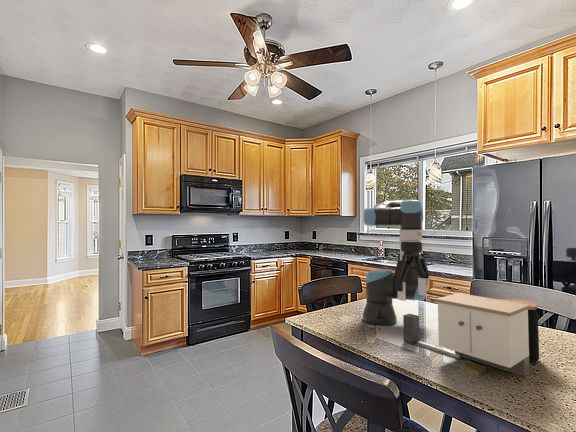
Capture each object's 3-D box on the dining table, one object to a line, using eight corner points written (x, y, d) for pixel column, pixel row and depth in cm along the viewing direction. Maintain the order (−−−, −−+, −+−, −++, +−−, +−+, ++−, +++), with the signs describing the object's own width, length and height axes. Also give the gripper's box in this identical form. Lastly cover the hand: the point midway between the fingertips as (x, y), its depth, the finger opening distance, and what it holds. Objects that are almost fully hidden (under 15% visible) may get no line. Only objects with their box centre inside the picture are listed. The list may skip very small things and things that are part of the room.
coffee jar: (492, 352, 110) (490, 299, 110) (520, 350, 111) (519, 298, 111) (516, 365, 99) (515, 307, 100) (548, 364, 100) (546, 306, 101)
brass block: (460, 370, 97) (460, 365, 97) (468, 365, 100) (468, 360, 100) (477, 376, 93) (477, 371, 93) (485, 371, 96) (485, 366, 96)
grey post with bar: (403, 342, 120) (403, 315, 120) (410, 339, 122) (409, 313, 122) (457, 360, 103) (457, 329, 104) (463, 357, 106) (463, 326, 106)
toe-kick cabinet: (435, 361, 102) (434, 299, 103) (459, 350, 111) (458, 293, 112) (511, 388, 85) (509, 313, 86) (532, 372, 94) (530, 304, 95)
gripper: (400, 242, 110) (401, 304, 109) (438, 240, 125) (439, 294, 124) (382, 241, 116) (383, 300, 115) (420, 239, 131) (421, 291, 130)
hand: (412, 297), depth 120 cm, fingers open, 13 cm apart
